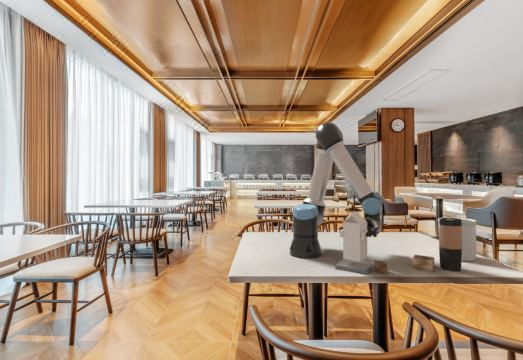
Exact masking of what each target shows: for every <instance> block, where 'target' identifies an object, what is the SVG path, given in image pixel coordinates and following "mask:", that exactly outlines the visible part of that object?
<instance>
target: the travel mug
mask: <svg viewBox="0 0 523 360" xmlns="http://www.w3.org/2000/svg"><path fill="white" fill-rule="evenodd" d="M440 218H442V219H440ZM457 218H458V217H439V218H438V219H439V222H438V241H439V242H438V253H439V255H438V257H439V268H440V269H442V270H444V271H449V272H461V271H462V262H463V261H462V220H461V219H457Z"/></svg>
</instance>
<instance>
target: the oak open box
mask: <svg viewBox="0 0 523 360" xmlns="http://www.w3.org/2000/svg"><path fill="white" fill-rule="evenodd" d="M411 265H412V270H418V271H422V272H424V271H425V272H431V273H433V272H434V269H435V256H429V255H428V256H427V255H421V254H414V255H413V256H412V263H411Z"/></svg>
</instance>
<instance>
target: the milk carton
mask: <svg viewBox="0 0 523 360" xmlns="http://www.w3.org/2000/svg"><path fill="white" fill-rule="evenodd" d="M342 227H343V237H342V241H343V243H342V244H343V245H342V246H343V247H342V250H343V252H342V253H343V255H342V256H343V259H347V260H353V261H358V262H361V261H365V260H368V237H367V238H365V239H364V240H362V237H361V232H363V231H365V230H367V221H366V220H365V219H364V216H363V217H362V216H361V214H360V211H354V212H353V211H352V212H350V214H349V215H348V216H346V219H345V220H344V221H343V222H342ZM343 259H342V260H343Z"/></svg>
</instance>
